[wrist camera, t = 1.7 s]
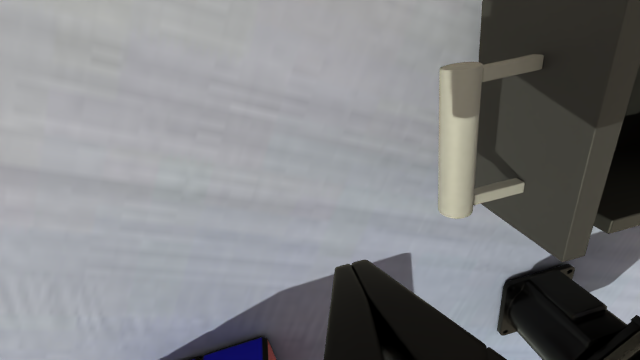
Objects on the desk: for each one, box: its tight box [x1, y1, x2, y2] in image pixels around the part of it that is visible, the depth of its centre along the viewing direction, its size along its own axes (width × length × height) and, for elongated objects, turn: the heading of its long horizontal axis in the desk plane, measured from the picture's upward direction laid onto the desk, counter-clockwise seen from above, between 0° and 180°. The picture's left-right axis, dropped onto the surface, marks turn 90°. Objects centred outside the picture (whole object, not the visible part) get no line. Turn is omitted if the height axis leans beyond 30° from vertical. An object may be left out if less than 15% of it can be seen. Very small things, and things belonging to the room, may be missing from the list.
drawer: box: [438, 0, 640, 262], centre depth 15 cm, size 18×11×7 cm, turn 100°
